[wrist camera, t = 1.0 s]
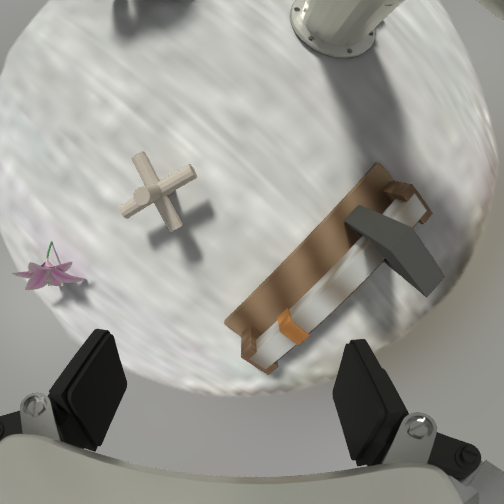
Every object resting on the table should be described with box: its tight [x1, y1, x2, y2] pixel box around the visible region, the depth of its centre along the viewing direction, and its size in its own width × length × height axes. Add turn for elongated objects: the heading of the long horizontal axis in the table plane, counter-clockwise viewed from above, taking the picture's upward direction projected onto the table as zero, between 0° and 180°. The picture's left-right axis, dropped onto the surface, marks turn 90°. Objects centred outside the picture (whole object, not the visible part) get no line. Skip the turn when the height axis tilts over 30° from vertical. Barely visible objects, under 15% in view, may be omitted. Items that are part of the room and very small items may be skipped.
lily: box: [12, 242, 86, 290], centre depth 35 cm, size 12×12×10 cm
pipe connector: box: [120, 151, 197, 232], centre depth 31 cm, size 10×10×10 cm
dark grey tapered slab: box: [344, 205, 445, 297], centre depth 30 cm, size 3×8×14 cm, turn 48°
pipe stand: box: [224, 163, 433, 375], centre depth 36 cm, size 32×11×7 cm, turn 138°
